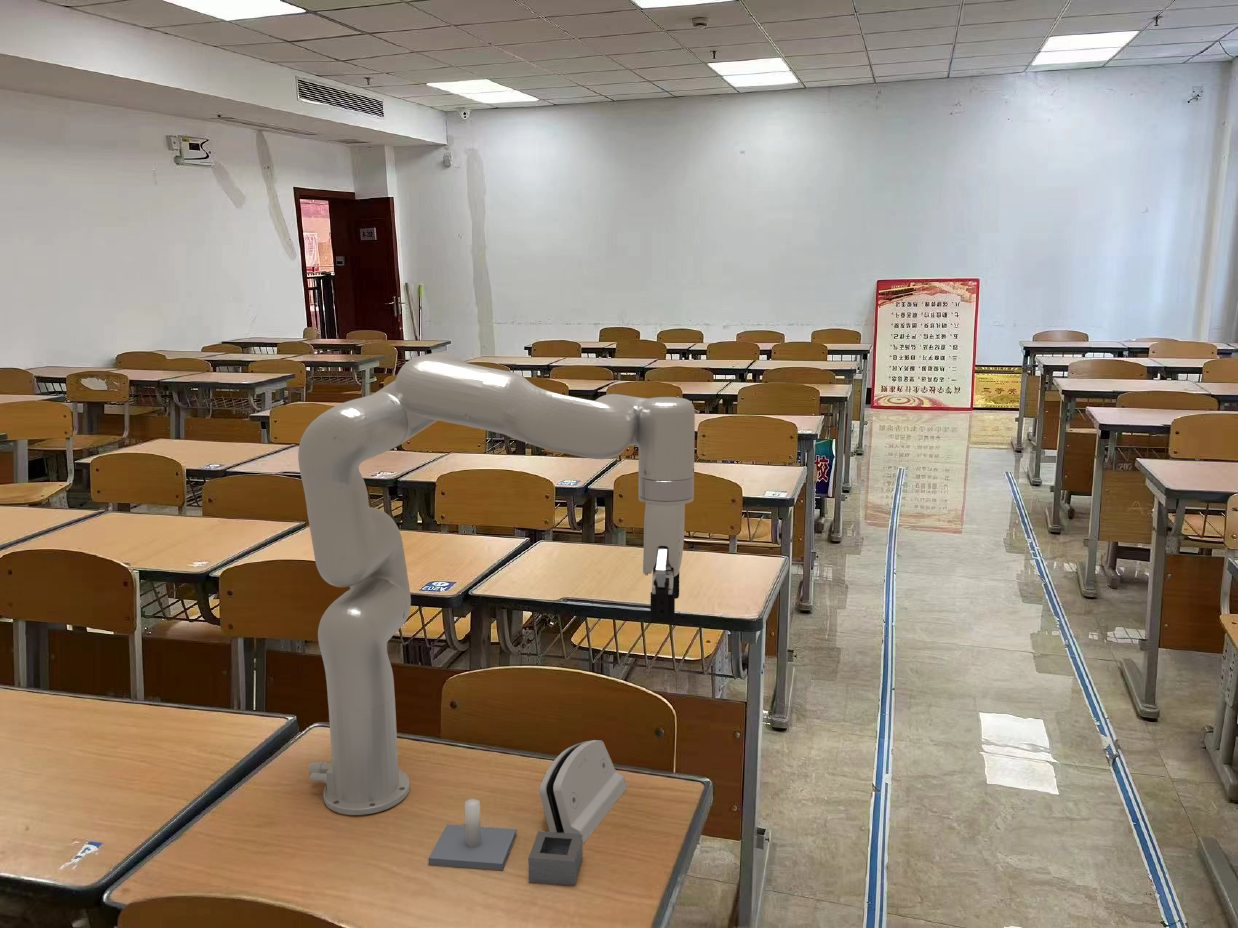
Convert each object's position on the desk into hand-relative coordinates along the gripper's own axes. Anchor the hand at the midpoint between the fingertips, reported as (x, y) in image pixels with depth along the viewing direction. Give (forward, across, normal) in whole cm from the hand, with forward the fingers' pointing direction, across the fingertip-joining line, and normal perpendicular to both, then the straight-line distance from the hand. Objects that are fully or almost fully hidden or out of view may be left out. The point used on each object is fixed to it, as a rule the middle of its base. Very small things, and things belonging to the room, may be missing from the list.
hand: (665, 609), depth 130 cm
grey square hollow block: (+31, +15, -13) cm, 37 cm away
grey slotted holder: (+32, 0, -12) cm, 34 cm away
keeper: (+31, +12, -25) cm, 42 cm away
